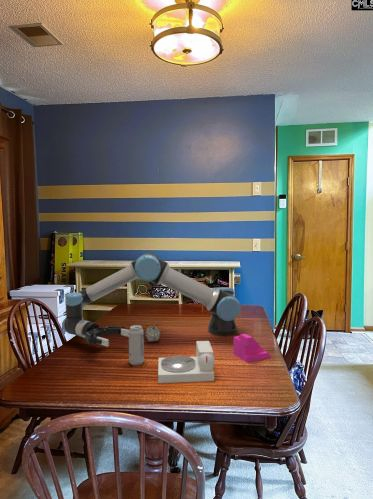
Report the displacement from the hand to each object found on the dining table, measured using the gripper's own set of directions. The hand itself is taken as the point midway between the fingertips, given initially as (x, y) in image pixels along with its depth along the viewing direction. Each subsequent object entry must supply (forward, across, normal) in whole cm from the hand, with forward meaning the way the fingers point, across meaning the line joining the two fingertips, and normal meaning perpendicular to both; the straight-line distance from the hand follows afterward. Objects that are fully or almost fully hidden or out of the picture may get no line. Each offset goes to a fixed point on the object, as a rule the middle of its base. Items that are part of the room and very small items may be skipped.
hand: (120, 338), depth 148 cm
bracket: (+44, -34, -9) cm, 56 cm away
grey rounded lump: (-2, -23, -9) cm, 25 cm away
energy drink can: (+9, 0, -9) cm, 12 cm away
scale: (+31, -4, -8) cm, 32 cm away
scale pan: (+29, -2, -5) cm, 29 cm away
